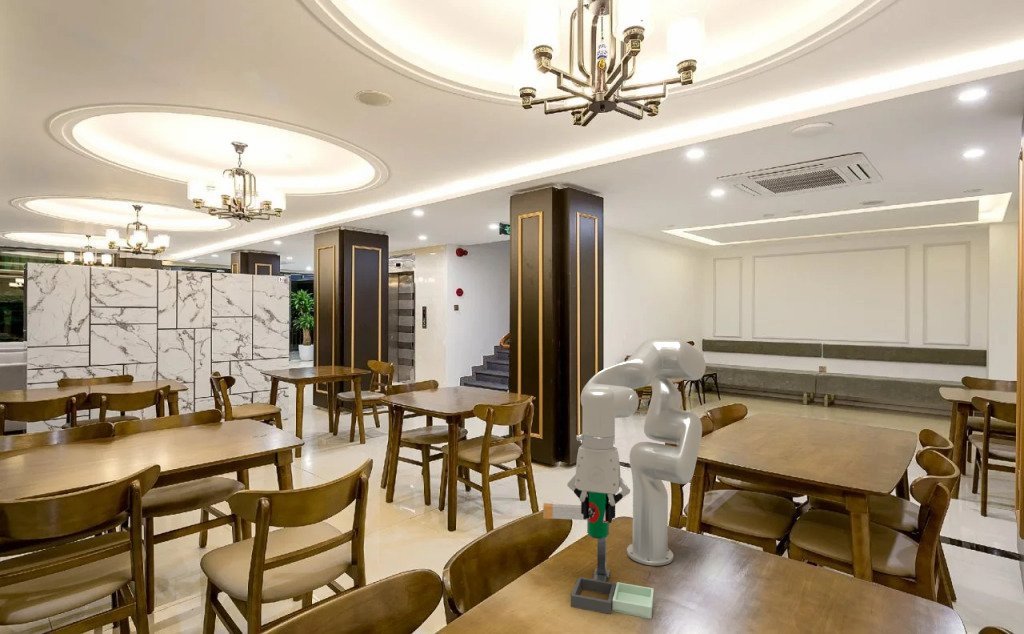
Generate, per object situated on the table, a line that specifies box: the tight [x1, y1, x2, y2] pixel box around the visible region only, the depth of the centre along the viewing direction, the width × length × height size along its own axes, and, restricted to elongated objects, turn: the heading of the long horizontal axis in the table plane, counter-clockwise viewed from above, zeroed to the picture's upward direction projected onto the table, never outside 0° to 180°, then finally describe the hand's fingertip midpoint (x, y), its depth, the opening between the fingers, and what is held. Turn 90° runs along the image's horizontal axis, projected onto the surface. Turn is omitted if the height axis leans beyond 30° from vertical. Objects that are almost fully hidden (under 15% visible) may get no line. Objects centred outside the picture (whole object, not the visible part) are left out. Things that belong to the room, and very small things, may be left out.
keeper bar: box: [542, 502, 587, 521], centre depth 130 cm, size 17×3×3 cm, turn 84°
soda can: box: [586, 492, 610, 540], centre depth 118 cm, size 5×5×12 cm
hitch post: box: [592, 536, 611, 582], centre depth 127 cm, size 9×4×14 cm, turn 161°
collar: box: [570, 576, 617, 615], centre depth 118 cm, size 9×9×2 cm
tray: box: [611, 581, 655, 620], centre depth 116 cm, size 8×8×2 cm
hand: (598, 518), depth 118 cm, fingers closed on soda can, 5 cm apart
